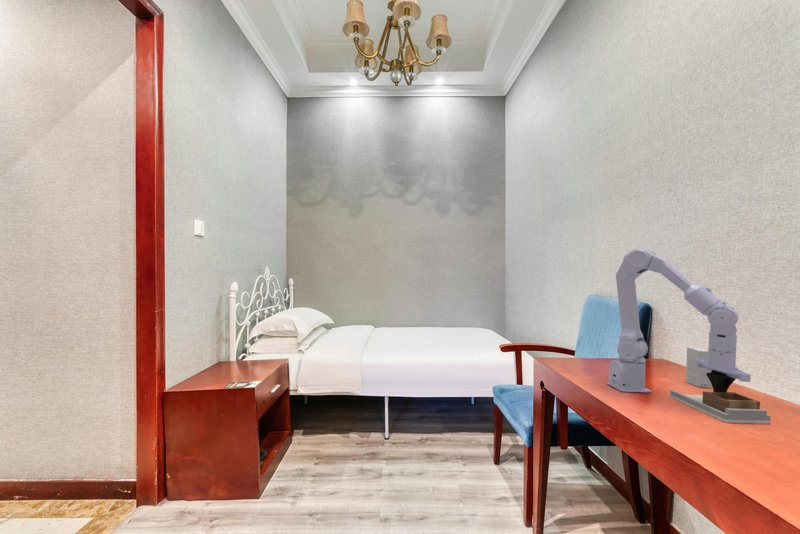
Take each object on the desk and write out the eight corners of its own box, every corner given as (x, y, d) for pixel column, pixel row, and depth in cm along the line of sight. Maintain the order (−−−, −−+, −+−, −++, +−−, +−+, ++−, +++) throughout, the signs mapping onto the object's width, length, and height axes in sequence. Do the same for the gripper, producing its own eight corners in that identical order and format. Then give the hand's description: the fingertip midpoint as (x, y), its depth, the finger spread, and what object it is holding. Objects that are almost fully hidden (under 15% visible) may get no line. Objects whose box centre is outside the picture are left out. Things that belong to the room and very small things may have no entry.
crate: (725, 416, 93) (726, 400, 93) (702, 406, 100) (702, 391, 100) (759, 417, 93) (760, 401, 93) (733, 406, 100) (734, 392, 100)
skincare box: (712, 388, 120) (713, 351, 120) (698, 387, 120) (700, 351, 120) (697, 382, 126) (698, 347, 126) (684, 381, 126) (686, 346, 126)
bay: (725, 422, 92) (725, 409, 92) (670, 396, 110) (670, 386, 110) (770, 423, 92) (770, 411, 92) (707, 398, 110) (708, 387, 110)
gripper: (763, 357, 94) (760, 410, 94) (712, 345, 108) (710, 391, 108) (736, 356, 94) (733, 410, 94) (689, 344, 108) (687, 390, 108)
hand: (719, 399), depth 101 cm, fingers closed
